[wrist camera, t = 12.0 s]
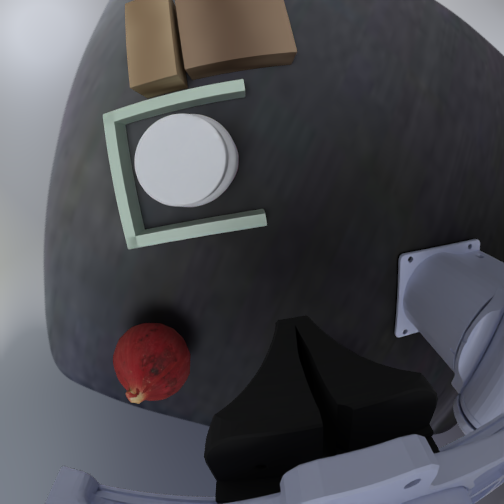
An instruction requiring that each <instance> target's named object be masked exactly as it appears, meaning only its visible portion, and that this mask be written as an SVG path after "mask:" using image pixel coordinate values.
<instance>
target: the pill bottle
mask: <svg viewBox="0 0 504 504" xmlns="http://www.w3.org/2000/svg"><path fill="white" fill-rule="evenodd" d="M238 166H239V155H238V150H237V147H236V145H235V143H234V141H233V139H232V137H231V136H230V134H229V133H228V132H227V130H226V129H225V128H224V127H223V126H222V125H221V124H220V123H218V122H217V121H215V120H214V119H212V118H209V117H207V116H203V115H199V114H173V115H169V116H166V117H164V118H162V119H160V120H158V121H157V122H155V123H154V124H153V125H151V126H150V127H149V128H148V129H147V130H146V132H145V133H144V134H143V136H142V137H141V139H140V141H139V143H138V146H137V149H136V153H135V171H136V175H137V178H138V180H139V183H140V184H141V186H142V187H143V189H144V190H145V191H146V192H147V194H148V195H150V196H151V197H152V198H153V199H155V200H157V201H158V202H161V203H163V204H166V205H169V206H181V207H196V206H201V205H204V204H207V203H209V202H211V201H213V200H215V199H216V198H217V197H219V196H220V195H221V194H222V193H223V192H224V191H225V190H226V189H227V188H228V186H229V185H230V184H231V182H232V181H233V179H234V177H235V176H236V173H237V171H238Z"/></svg>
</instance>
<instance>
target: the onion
mask: <svg viewBox="0 0 504 504" xmlns="http://www.w3.org/2000/svg"><path fill="white" fill-rule="evenodd" d="M113 364H114V368H115V372H116V375H117V377H118V379H119V381H120V383H121V384H122V385H123V386H124V388H125V389H126V390H127V392H126V396H127V398H128V400H129V401H130V402H131V403H138V404H139V403H140V402H142V401H144V400H149V401H154V400H162V399H166V398H168V397H169V396H171V395H173V394H175V393H176V392H178V391H179V390H180V388H181V387H182V386H183V384H184V383H185V381H186V380H187V378H188V376H189V373H190V352H189V350H188V347H187V345H186V343H185V341H184V339H183V337H182V336H181V335H180V334H178V333H177V332H176V331H175V330H174V329H173V328H171V327H168V326H166V325H164V324H161V323H143V324H140V325H136V326H133V327H132V328H130V329H129V330H128V331H127V332H126V333H125V334H124V335H123V336H122V337H121V338H120V339H119V341H118V343H117V346H116V349H115V352H114V355H113Z"/></svg>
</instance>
